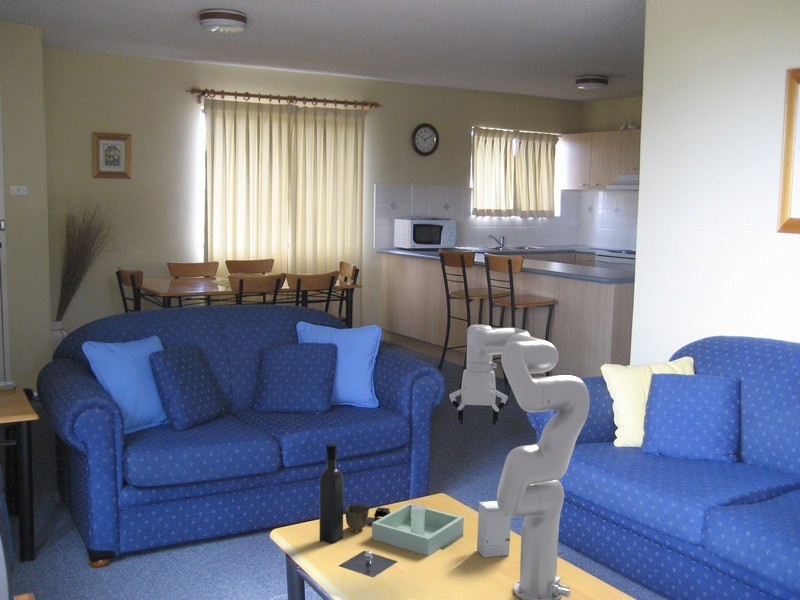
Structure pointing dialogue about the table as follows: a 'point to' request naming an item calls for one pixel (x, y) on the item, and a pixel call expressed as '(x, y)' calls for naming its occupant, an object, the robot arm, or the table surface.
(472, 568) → the table surface
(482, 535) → the skincare box
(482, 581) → the table surface
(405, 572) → the table surface
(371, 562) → the stud plate
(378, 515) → the black slotted box
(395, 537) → the bin
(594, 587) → the table surface
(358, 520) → the cup
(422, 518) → the strut
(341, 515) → the wine bottle
